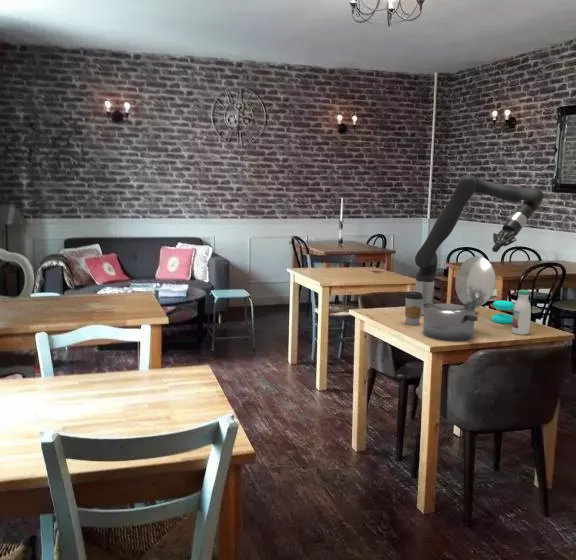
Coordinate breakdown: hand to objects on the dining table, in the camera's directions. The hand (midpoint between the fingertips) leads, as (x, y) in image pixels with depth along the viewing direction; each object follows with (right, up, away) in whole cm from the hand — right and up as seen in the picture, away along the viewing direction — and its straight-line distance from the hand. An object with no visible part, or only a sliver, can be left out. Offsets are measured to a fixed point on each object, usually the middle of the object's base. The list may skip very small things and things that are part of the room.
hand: (494, 250), depth 298 cm
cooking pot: (-23, -38, -6) cm, 45 cm away
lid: (-10, -14, -3) cm, 18 cm away
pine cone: (-2, -30, +44) cm, 53 cm away
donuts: (+11, -34, +22) cm, 42 cm away
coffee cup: (-35, -35, +14) cm, 51 cm away
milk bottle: (+12, -38, 0) cm, 40 cm away
